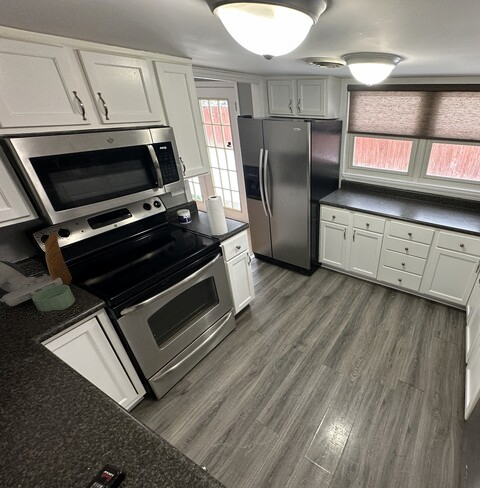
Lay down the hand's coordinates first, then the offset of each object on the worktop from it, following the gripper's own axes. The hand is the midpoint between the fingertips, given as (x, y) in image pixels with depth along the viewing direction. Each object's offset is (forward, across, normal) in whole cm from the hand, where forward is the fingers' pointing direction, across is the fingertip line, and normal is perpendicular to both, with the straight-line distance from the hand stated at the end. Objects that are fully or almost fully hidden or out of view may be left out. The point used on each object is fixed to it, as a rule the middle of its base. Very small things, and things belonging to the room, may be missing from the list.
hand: (44, 293), depth 125 cm
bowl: (+6, 0, +6) cm, 9 cm away
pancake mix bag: (-11, +13, +6) cm, 18 cm away
